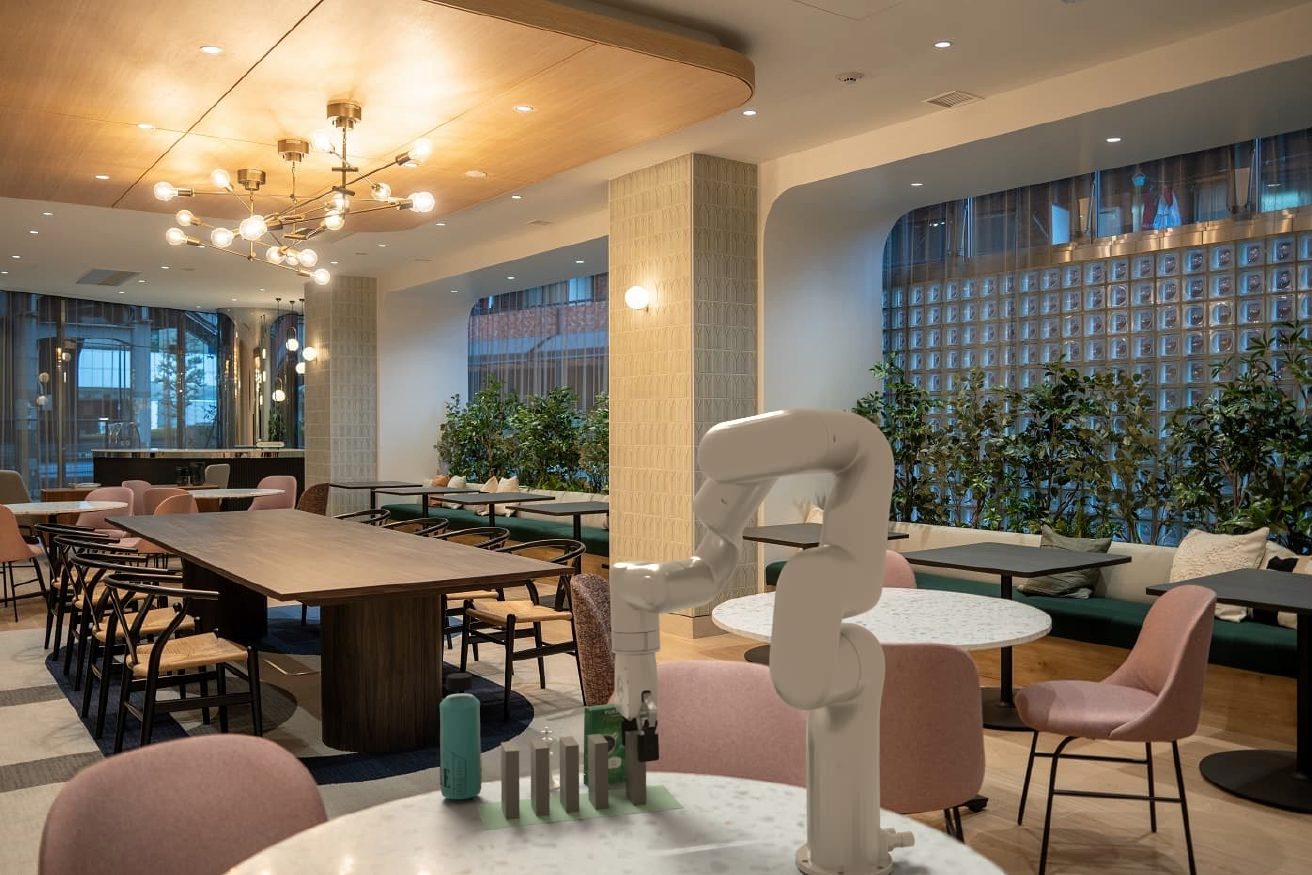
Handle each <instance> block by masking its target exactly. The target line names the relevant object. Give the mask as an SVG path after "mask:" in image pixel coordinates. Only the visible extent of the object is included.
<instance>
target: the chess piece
mask: <svg viewBox="0 0 1312 875" xmlns="http://www.w3.org/2000/svg"><path fill="white" fill-rule="evenodd" d="M540 732H541V734H540V735H544V737H543V738H542V739H544V741H545V742H546V744H547V745H548V747H549V790H550V791H555V790H558V789H559V790H560V780H559V781H558V780H555V778H554V776H553V773H552V766H551V759H550V758H551V757H554V753H553V751H551V748H552V745H553V743H554V740H553V738H550V737H549V736H551V735H553V731H552V730H550V731H549V727H547V726H545V727H544V730H541V731H540Z"/></svg>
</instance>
